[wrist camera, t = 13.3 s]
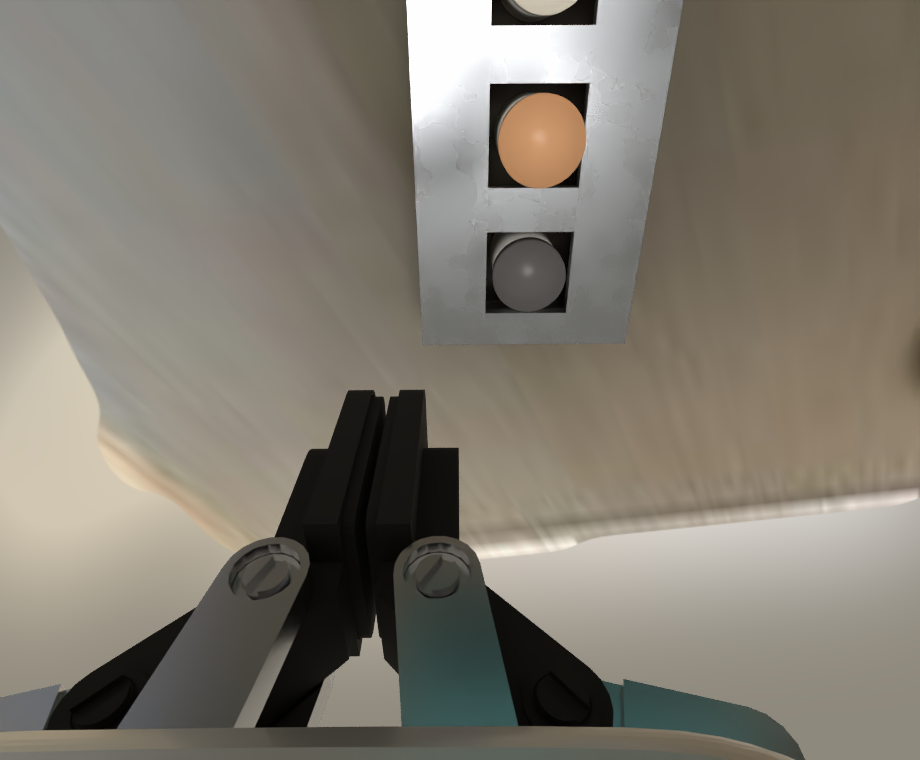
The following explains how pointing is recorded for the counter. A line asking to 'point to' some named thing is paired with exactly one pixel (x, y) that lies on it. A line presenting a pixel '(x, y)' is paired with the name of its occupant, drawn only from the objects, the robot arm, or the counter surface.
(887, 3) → the counter surface
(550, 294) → the plug
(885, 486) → the counter surface
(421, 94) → the housing
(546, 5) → the plug
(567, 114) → the plug mid
